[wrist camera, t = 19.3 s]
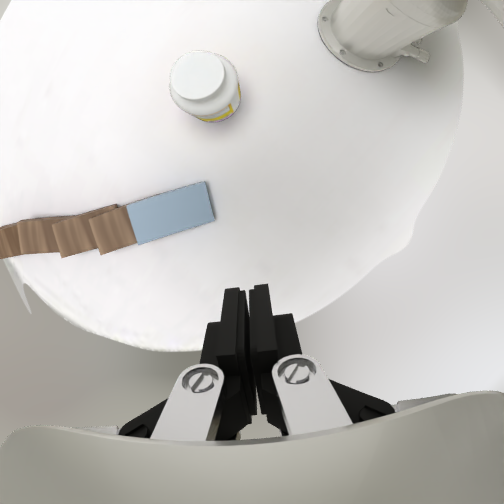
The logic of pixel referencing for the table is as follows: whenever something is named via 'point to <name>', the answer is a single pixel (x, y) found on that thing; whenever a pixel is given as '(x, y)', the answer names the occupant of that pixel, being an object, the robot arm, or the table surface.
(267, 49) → the table surface
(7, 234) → the domino
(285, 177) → the table surface
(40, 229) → the domino
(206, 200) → the domino
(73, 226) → the domino
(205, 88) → the supplement bottle
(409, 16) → the robot arm
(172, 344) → the table surface
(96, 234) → the domino
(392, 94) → the table surface
